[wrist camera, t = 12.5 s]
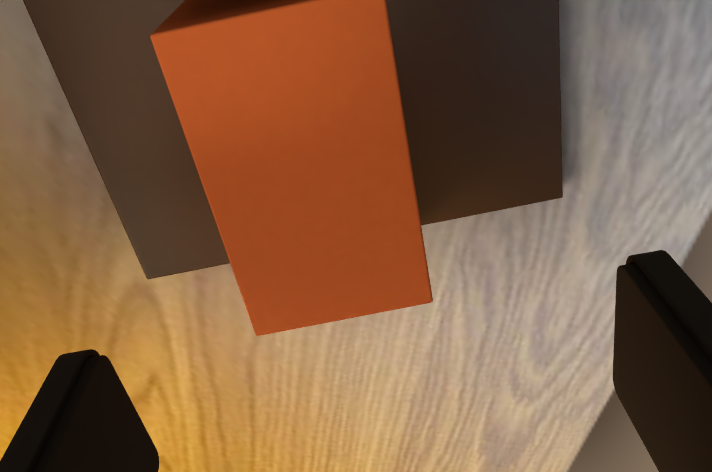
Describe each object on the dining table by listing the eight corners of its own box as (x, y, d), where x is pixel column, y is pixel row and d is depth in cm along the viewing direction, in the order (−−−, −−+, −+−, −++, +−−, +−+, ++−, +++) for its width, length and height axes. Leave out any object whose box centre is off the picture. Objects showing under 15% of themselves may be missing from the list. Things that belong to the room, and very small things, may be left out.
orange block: (367, -40, 20) (383, -16, 15) (411, 228, 25) (433, 303, 20) (183, -1, 20) (148, 35, 15) (265, 256, 25) (255, 337, 21)
